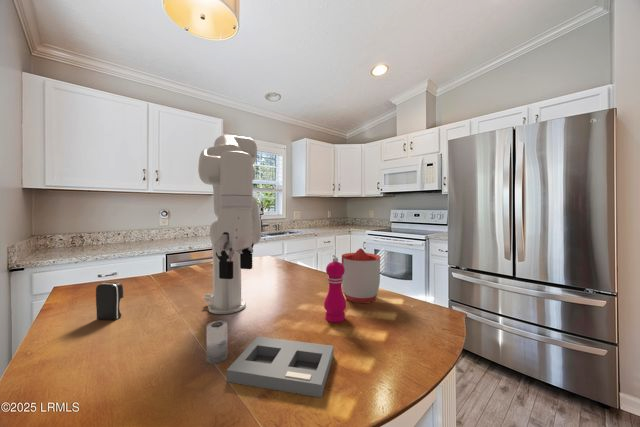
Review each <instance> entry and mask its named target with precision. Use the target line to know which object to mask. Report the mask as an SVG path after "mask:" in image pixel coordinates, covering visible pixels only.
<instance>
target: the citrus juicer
mask: <svg viewBox="0 0 640 427" xmlns="http://www.w3.org/2000/svg"><path fill="white" fill-rule="evenodd" d="M381 258H382V257H381V256H380V255H379V254H375V253H369V252H368V253H367V252H366V251H365V250H364V249H363V248H358V250H356V252H348V253H347V252H346V253H342V255H341V263H342V264H343V266H344V269H345V272H344V274H343V275H342V277H343V282H342V284H341V288H342V292H343V296H344V298H345V299H346V298H347V299H348V300H347V299H346V300H347V301H349V300H350V301H349V302H351V301H353V302H352V303H357V302H359V303H360V304H368V303H367V302H370V303H373V302H374V301H375V300H376V298H377V296H378V292H379V288H380V284H381V283H380V282H381V276H380V275H381Z"/></svg>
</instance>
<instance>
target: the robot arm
mask: <svg viewBox="0 0 640 427" xmlns="http://www.w3.org/2000/svg"><path fill="white" fill-rule="evenodd" d="M257 155H258V146H257V142H256V141H255V140H254V139H253V138H251V137H249V136H248V137H246V136H238V135H229V134H224V135H220V136H218V137H217V138H216V139H215V141H214V142H213V146H209V147H206V148H204V149H202V151H201V152H200V155H199V159H198V177H199V179H200V181H201V182H202V183H204V184H205V185H208V186H209V185H210V186H211V187H212V190H213V192H212V193H213V196H212V197H213V211H214V215H215V217H217V220H215V221H214V222H211V224H210V228H209V236H210V242H211V248H212V249H211V250H212V293H206V294H205V297H204V299H203V300H204V302H209V303H210V304H209V305H208V306H207V308H208V309H207V310H208V312H209V313H211V314H214V315H229V314H233V313H237V312H240V311H241V310H244V309H245V308H246V306H247V304H246V303H247V302H246V300H244V299H242V270H252V269H253V253H254V249H253V248H254V246H255V245H257V244H259V243H260V242H261V239H262V227H261V226H262V224H261V217H260V212H259V211H260V209H259V204H258V200H257V198H256V197H255V196H253V195H254V194H253V193H254V192H253V185H254V184H253V181H254V180H255V179H256V167H255V165H254V164H255V162H256V161H257V160H256V159H257ZM240 251H241V253H239V252H240Z"/></svg>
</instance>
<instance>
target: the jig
mask: <svg viewBox="0 0 640 427" xmlns="http://www.w3.org/2000/svg"><path fill="white" fill-rule="evenodd" d="M334 347H335V346H334V345H329V344H321V343H312V342H306V341H296V340H290V339H289V340H288V339H283V338H282V339H281V338H274V337H265V336H256V337H255V339H254V340H253V341H252V342H251V343H250V344H249V345H248V346H247V347H246V348H245V349H244V351H243V352H242V353H241V354H239V355H238V357H237V358H236V359H235V360H234V361H233V362H232V363H231V365H230V366H229V367H228V368H227V369H226V383H232V384H239V385H244V386H248V387H255V388H262V389H267V390H274V391H278V392H279V391H280V392H284V393H285V392H286V393H290V394H296V393H297V395H303V396H308V395H309V397H315V398H320V399H321V398H323V394H324V390H325V387H326V384H327V380H328V377H329V374H330V370H331V367H332V362H333V359H334V355H335V354H334V353H335V352H334V351H335V350H334V349H335V348H334Z"/></svg>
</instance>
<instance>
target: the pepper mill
mask: <svg viewBox="0 0 640 427" xmlns="http://www.w3.org/2000/svg"><path fill="white" fill-rule="evenodd" d="M325 271H326V275H327V282H328V292H327V294H326V297H325V299H324V303H323V307H324V309H325V320H326V321H328V322H330V323H341V322H343V321H344V320H345V318H346V316H345V310H346V308H347V301H346V297H345V295H344V292H343V288H342V282H343V277H342V275H343V274H344V272H345V269H344V266H343V264H342V262H339V258H338V257H336V256H335V257H333V258H332V261H331V262H329V263H328V264H327V265H326V268H325Z"/></svg>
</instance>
